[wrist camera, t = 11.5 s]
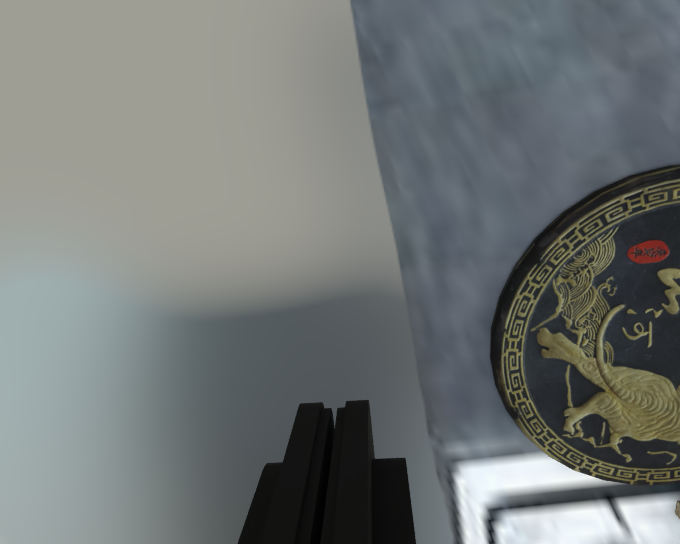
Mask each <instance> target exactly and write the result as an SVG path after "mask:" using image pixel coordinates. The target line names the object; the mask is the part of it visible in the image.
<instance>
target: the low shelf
mask: <svg viewBox="0 0 680 544" xmlns="http://www.w3.org/2000/svg"><path fill="white" fill-rule="evenodd" d="M675 514H676V515H677V516H678V517H679V518H680V501H677V507H676V513H675Z"/></svg>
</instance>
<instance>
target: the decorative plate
mask: <svg viewBox="0 0 680 544" xmlns="http://www.w3.org/2000/svg"><path fill="white" fill-rule="evenodd" d="M490 358H491V363H492V368H493V374H494V379H495V385H496V387H497V389H498V392H499V394H500V396H501V399H502V401H503V403H504V405H505V408H506V410H507V411H508V413H509V414H510V416H511V417H512V418H513V420H514V421H515V422H516V424H517V425H518V426H519V428H520V429H521V431H522V432H523V433H524V435H525V436H526V437H527V438H528V439H529V440H531V441H532V442H533V443H534V444H535V445H536V446H537V447H539V448H540V449H541V450H542V451H543V452H544V453H546V454H547V455H548V456H549V457H551V458H553V459H555V460H556V461H558V462H560V463H562V464H564V465H565V466H567V467H569V468H571V469H572V470H575V471H578V472H581V473H584V474H587V475H590V476H593V477H596V478H599V479H602V480H606V481H613V482H619V483H626V484H632V485H667V484H673V483H680V166H669V167H665V168H661V169H657V170H653V171H649V172H645V173H641V174H637V175H633V176H630V177H628V178H626V179H623V180H621V181H619V182H617V183H614V184H612V185H610V186H608V187H605V188H603V189H601V190H599V191H596V192H594V193H593V194H591V195H590V196H588V197H587V198H585V199H584V200H582V201H581V202H579V203H578V204H576V205H575V206H573V207H572V208H570V209H569V210H567V211H566V212H564V213H563V214H562V215H561V216H560V217H559V218H557V219H556V220H555V221H554V222H553V223H552V224H551V225H550V226H549V227H548V228H547V229H546V230H545V231H544V232H543V233H542V234H540V235H539V236H538V237H537V238H536V239H535V240H534V242H533V243H532V245H531V246H530V247H529V249H528V250H527V251H526V253H525V254H524V255H523V257H522V258H521V259H520V261H519V262H518V263H517V265H516V266H515V267H514V269H513V271H512V273H511V275H510V277H509V279H508V281H507V283H506V286H505V288H504V290H503V292H502V294H501V296H500V298H499V302H498V305H497V309H496V313H495V317H494V321H493V325H492V331H491V356H490Z"/></svg>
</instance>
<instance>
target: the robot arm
mask: <svg viewBox="0 0 680 544" xmlns="http://www.w3.org/2000/svg"><path fill="white" fill-rule="evenodd" d="M238 544H416V540H415V531H414V523H413V515H412V507H411V499H410V491H409V483H408V474H407V466H406V459H405V458H390V459H389V458H388V459H375V455H374V445H373V435H372V426H371V416H370V406H369V400H361V401H360V400H358V401H346V406H345V407H344V408H338V409H337V416H336V424H335V428H334V421H333V413H332V409H331V408H325V409H324V405H323V403H322V402H320V403H304V404H303V403H302V404H300V405H299V407H298V411H297V415H296V418H295V421H294V425H293V429H292V432H291V435H290V439H289V442H288V446H287V449H286V454H285V457H284V460H283V463H267V464H266V465H265V467H264V469H263V471H262V474H261V477H260V480H259V483H258V486H257V489H256V492H255V494H254V497H253V500H252V503H251V506H250V509H249V512H248V515H247V518H246V521H245V524H244V527H243V530H242V533H241V535H240V538H239V542H238Z"/></svg>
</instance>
